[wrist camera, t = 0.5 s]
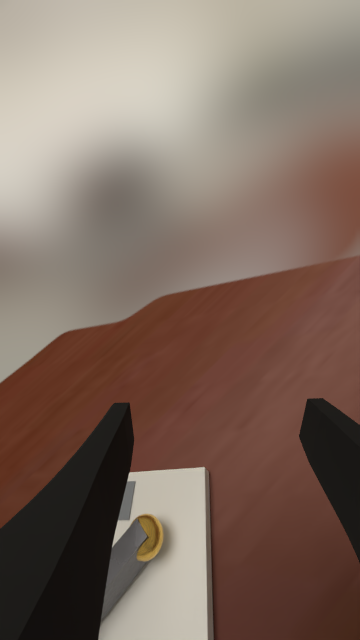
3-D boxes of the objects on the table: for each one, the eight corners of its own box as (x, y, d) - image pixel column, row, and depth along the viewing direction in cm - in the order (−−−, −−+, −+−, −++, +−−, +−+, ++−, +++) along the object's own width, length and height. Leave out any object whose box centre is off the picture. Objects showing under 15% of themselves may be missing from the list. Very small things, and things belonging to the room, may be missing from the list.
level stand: (220, 874, 13) (210, 899, 12) (-36, 779, 17) (-59, 790, 16) (208, 472, 26) (204, 466, 25) (66, 481, 31) (56, 477, 30)
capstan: (-8, 844, 14) (-103, 910, 11) (-17, 680, 19) (-84, 693, 16) (192, 564, 20) (167, 554, 17) (145, 492, 25) (119, 475, 22)
